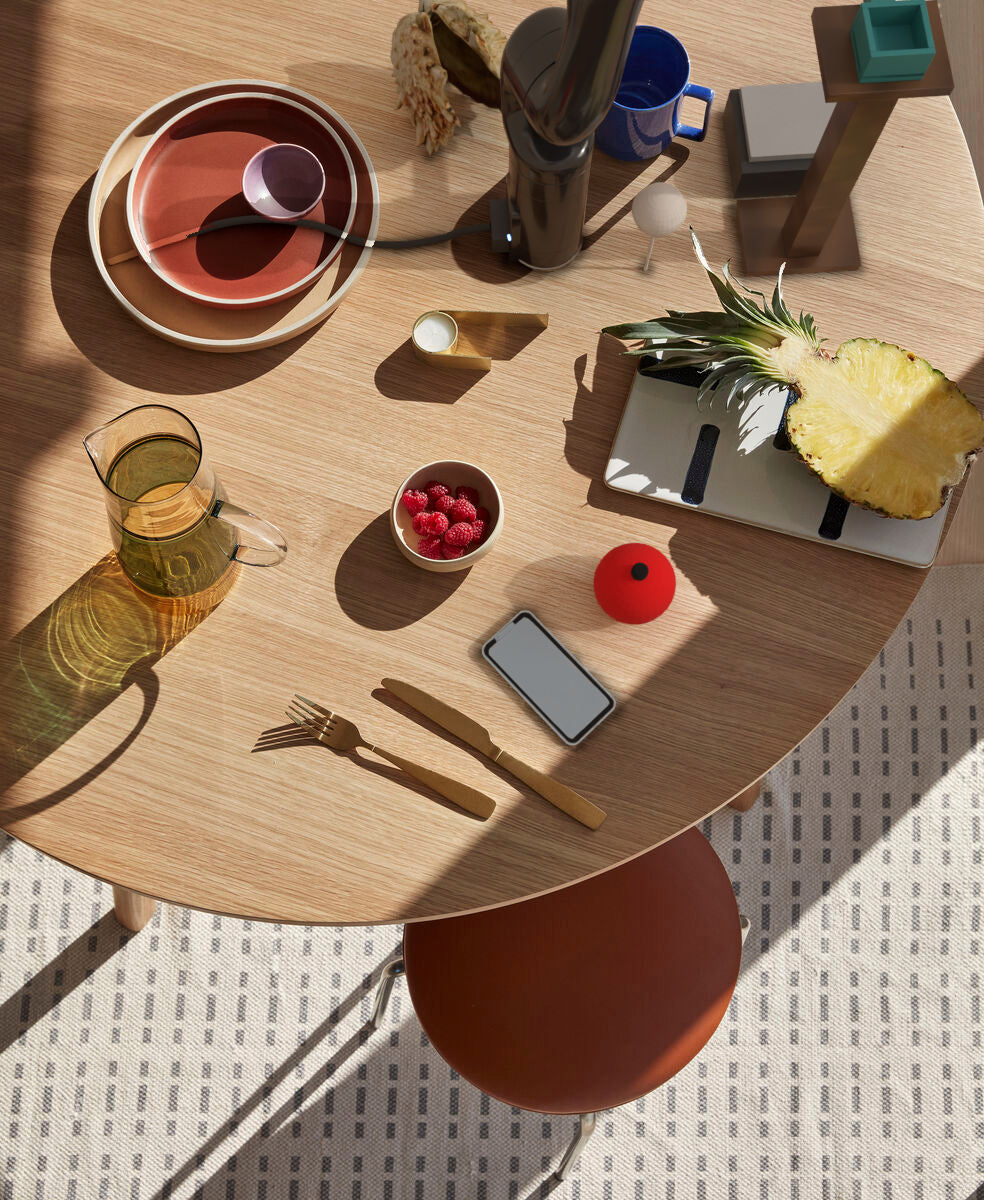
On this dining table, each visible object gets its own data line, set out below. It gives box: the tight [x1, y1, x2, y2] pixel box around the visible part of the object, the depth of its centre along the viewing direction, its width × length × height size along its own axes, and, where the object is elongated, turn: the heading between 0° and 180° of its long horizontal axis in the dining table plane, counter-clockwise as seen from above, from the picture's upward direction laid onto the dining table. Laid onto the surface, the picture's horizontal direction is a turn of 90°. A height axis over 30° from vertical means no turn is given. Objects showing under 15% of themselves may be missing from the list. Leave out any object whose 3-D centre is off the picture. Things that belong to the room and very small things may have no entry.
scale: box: [721, 81, 837, 199], centre depth 136 cm, size 14×12×6 cm
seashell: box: [389, 0, 508, 156], centre depth 133 cm, size 18×18×15 cm
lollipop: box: [631, 181, 688, 271], centre depth 128 cm, size 6×6×15 cm
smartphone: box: [481, 609, 617, 747], centre depth 122 cm, size 7×1×15 cm
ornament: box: [592, 542, 677, 626], centre depth 120 cm, size 9×9×10 cm
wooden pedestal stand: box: [734, 0, 956, 278], centre depth 121 cm, size 14×10×32 cm
